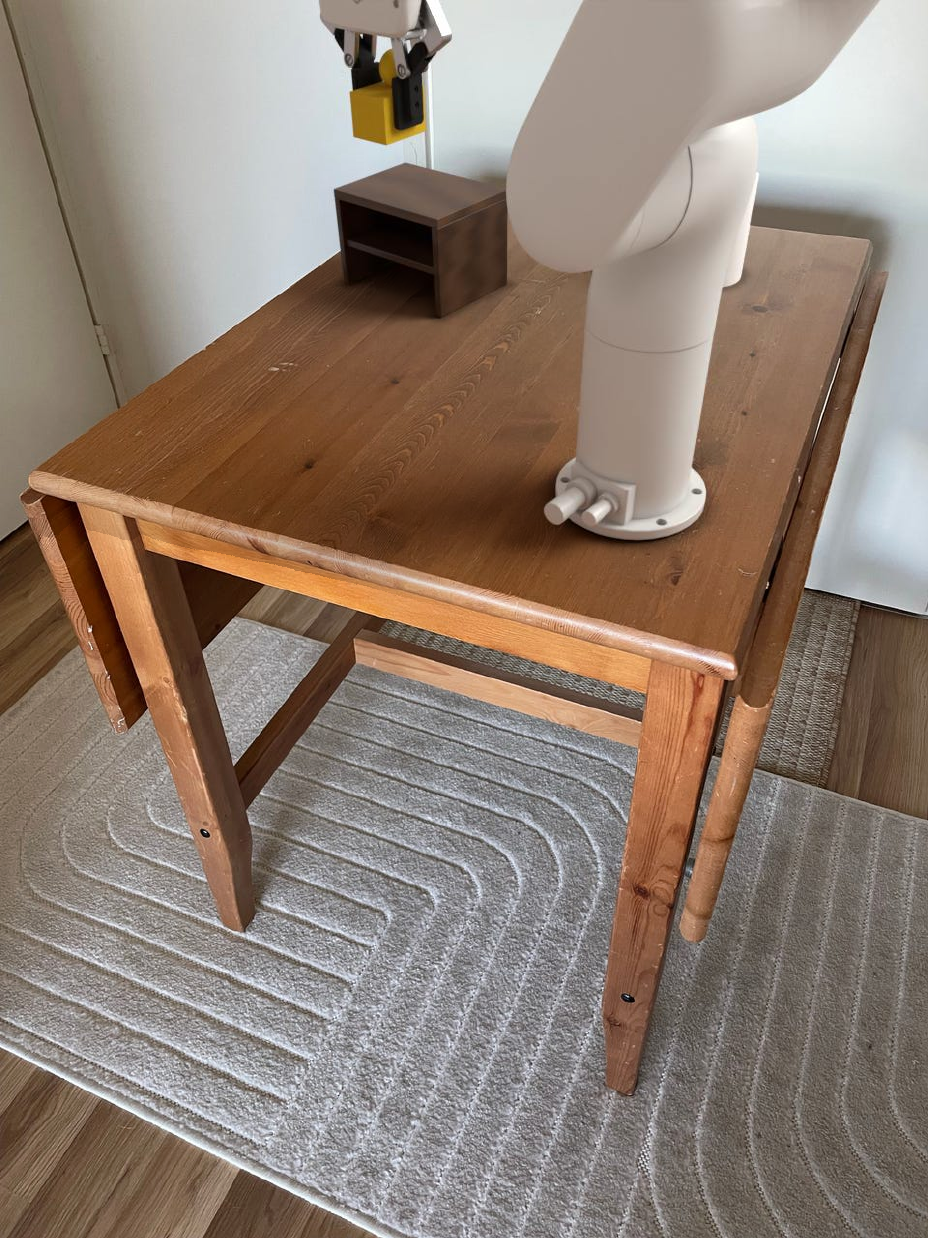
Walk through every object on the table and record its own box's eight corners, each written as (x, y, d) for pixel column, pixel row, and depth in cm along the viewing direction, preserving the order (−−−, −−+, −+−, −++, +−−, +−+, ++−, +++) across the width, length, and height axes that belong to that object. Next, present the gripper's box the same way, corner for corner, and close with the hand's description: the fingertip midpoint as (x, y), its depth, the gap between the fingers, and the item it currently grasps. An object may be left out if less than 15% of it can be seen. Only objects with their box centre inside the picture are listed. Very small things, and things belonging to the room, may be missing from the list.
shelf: (441, 318, 106) (436, 219, 98) (343, 282, 114) (333, 188, 106) (507, 283, 112) (507, 188, 105) (411, 252, 120) (405, 161, 113)
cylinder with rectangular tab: (651, 275, 113) (663, 170, 105) (691, 253, 118) (706, 151, 110) (715, 295, 109) (733, 187, 101) (755, 271, 113) (775, 166, 105)
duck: (386, 145, 80) (380, 60, 76) (353, 136, 82) (345, 53, 77) (436, 127, 84) (433, 45, 79) (403, 119, 86) (399, 38, 81)
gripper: (259, -149, 71) (293, 114, 84) (423, -139, 63) (432, 150, 76) (330, -157, 75) (351, 96, 88) (491, -148, 67) (490, 128, 80)
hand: (389, 118), depth 82 cm, fingers closed on duck, 4 cm apart
